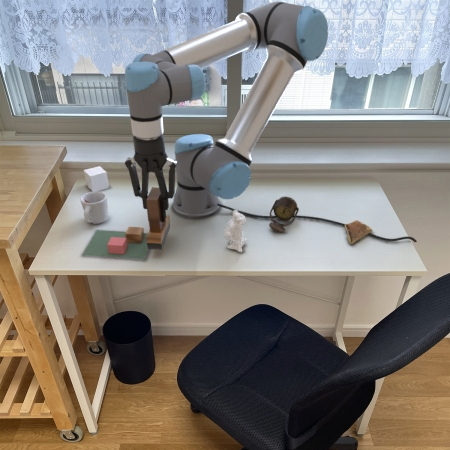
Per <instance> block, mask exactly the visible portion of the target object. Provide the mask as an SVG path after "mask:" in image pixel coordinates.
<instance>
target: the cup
mask: <svg viewBox="0 0 450 450" xmlns="http://www.w3.org/2000/svg"><path fill="white" fill-rule="evenodd" d="M79 198H80V199H79V201H80V203H81V207H82V209H83V218H84V221H85V222H86V223H89V224H90V223H91V224H94V225H97V224H98V225H99V224H102V223H105V222H107V220H108V218H109V207H108V206H109V205H108V196H107V194H106V193H105V192H103V191H89V192H86V193H84V194H82V195H81V196H80V197H79Z"/></svg>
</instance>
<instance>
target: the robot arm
mask: <svg viewBox="0 0 450 450" xmlns="http://www.w3.org/2000/svg"><path fill="white" fill-rule="evenodd" d="M328 39H329V24H328V20H327V17H326V15H325V13H324V12H323V11H321V10H320V9H318V8H314V7H312V6H311V5H300V4H293V3H288V2H284V1H273V2H268V3H265V4H262V5H260V6H256V7H253V8H251V9H249V10H247V11H244V12H241V13H239V14H238V15H237V16H236V18H235V20H233V21H231V22H229V23H226V24H224V25H222V26H219V27H217V28H214V29H212V30H209V31H207V32H205V33H203V34H200V35H198V36H195V37H193V38H191V39H188V40H186V41H183V42H181V43H179V44H176V45H174V46H171V47H169V48H167V49H164V50H162V51H159V52H156V53H154V54H151V53H139V54H137V55H136V56H135V57H134V58H133V60H132V62H131V63H129V64H127V65H126V67H125V68H124V79H125V91H126V95H127V102H128V103H127V104H128V109H129V119H130V126H131V133H132V135H133V136H132V140H133V150H134V154H133V156H132V157H127V159H125V161H124V165H125V167H126V169H127V170H128V173H129V177H130V178H129V179H130V182H131V187H132V191H133V195H134V197H136V198H138V197H139V198H140V199H141V200H142V208H143V209H144V210H146V213H147V215H148V211H147V203H146V199H147V197H148V195H149V181H150V180H149V178H150V177H149V176H150V173H154V175H155V178H156V181H157V185H158V188H159V189H160V193H161V199H160V210H161V220H162V222H165V219H166V215H167V211H168V209H169V208H170V203H169V200H172V199H173V201H172V205H173V210H174V211H175V212H176V213H177V214H179V215H181V216H182V217H183V216H184V217H187V218H203V217H209V216H212V215H213V214H215V213H217V211H219V210H220V209H219V208H220V207H221V208H223V209H227V210H229V211H232V212H233V210H237V211H238V213H241V214H243V215H244V216H248V217H253V218H258V219H259V218H260V219H271V218H270V215H261V214H255V213H249V212H247V211H246V212H245V211H243V210H239V209H235V208H233V207H231V206H227V205H225V204H222V203H220V199H222V200H233V199H234V198H238V197H239V196H241V195H242V194H244V192H245V191H246V190H247V188H249V185H250V183H251V180H252V170H251V167H250V166H251V164H252V162H253V158H252V151H253V150H254V148H255V146H256V144H257V142H258V141H259V139H260V137H261V135H262V133H263V131H264V130H265V128H266V126H267V124H268V123H269V120H270V119H271V117H272V115H273V113H274V112H275V110H276V108H277V106H278V104H279V103H280V100H281V99H282V97H283V95H284V93H285V91H286V90H287V88H288V86H289V84H290V82H291V81H292V78H293V77H294V76H295V74H298V73H301V72H303V71H304V69H305V67H306V65H307V63H308V62H313V61H316V60H318V59H319V58H321V56H322V55H323V53H324V52H325V49H326V47H327V43H328ZM256 50H266V55H267V56H266V59H265V61H264V62H263V64H262V67H261V69H260V70H259V72H258V74H257V76H256V77H255V79H254V81H253V83H252V85H251V87H250V89H249V91H248V93H247V94H246V97H245V99H244V100H243V102H242V104H241V106H240V108H239V109H238V112H237V114H236V115H235V118H234V119H233V121H232V123H231V124H230V127H229V128H228V130H227V132H226V133H225V136H224V137H223V138H220V139H217V140H216V141H215V143H214V138H213V137H212V136H211V135H209V134H203V133H196V134H195V133H194V134H188V135H184V136H181V137H179V138H178V139H177V140H176V141H175V143H174V156H175V159H172V158H169V157H168V154H167V152H166V144H165V143H166V142H165V135H164V132H165V131H164V121H163V107H165V106H169V105H170V106H171V105H175V104H179V103H184V102H192V101H193V100H195V99H198V98H201V97H202V96H203V95H204V94H205V91H206V77H205V73H204V72H203V69H205V68H207V67H210V66H212V65H214V64H217V63H218V62H222V61H224V60H226V59H228V58H230V57H232V56H234V55H237V54H240V53H241V52H244V51H245V53H251V52H253V51H256ZM136 164H137V166H139V168H140V169H141V183H140V180H139V179H140V178H139V175H138V171H137V166H136ZM165 165H167V169H169V170H168V187H167V184H166V179H165V176H164V170H163V167H164V166H165ZM176 181H177V182H176ZM176 184H177V186H176ZM294 216H295V215H293V218H294ZM272 217H273V219H278V218H277V217H276V216H275V215H272ZM293 218H292V219H293ZM295 219H309V220H316V221H321V222H326V223H330V224H335V225H338V226H341V227H345V224H346V223H343V222H339V221H335V220H331V219H329V218H328V219H327V218H322V217H316V216H309V215H297V216H296V218H295ZM147 220H148V222H149V219H148V218H147ZM367 235H368V236H370V237H372V238H374V239H375V238H376V239H378V240H381V241H386V242H397V241H402V240H411V241H413V242H414V243H418V241H417V239H416V238H414V237H412V236H400V237H395V238H387V237H383V236H379V235H376V234H374V233H372V232H371V233H368V234H367Z"/></svg>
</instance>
